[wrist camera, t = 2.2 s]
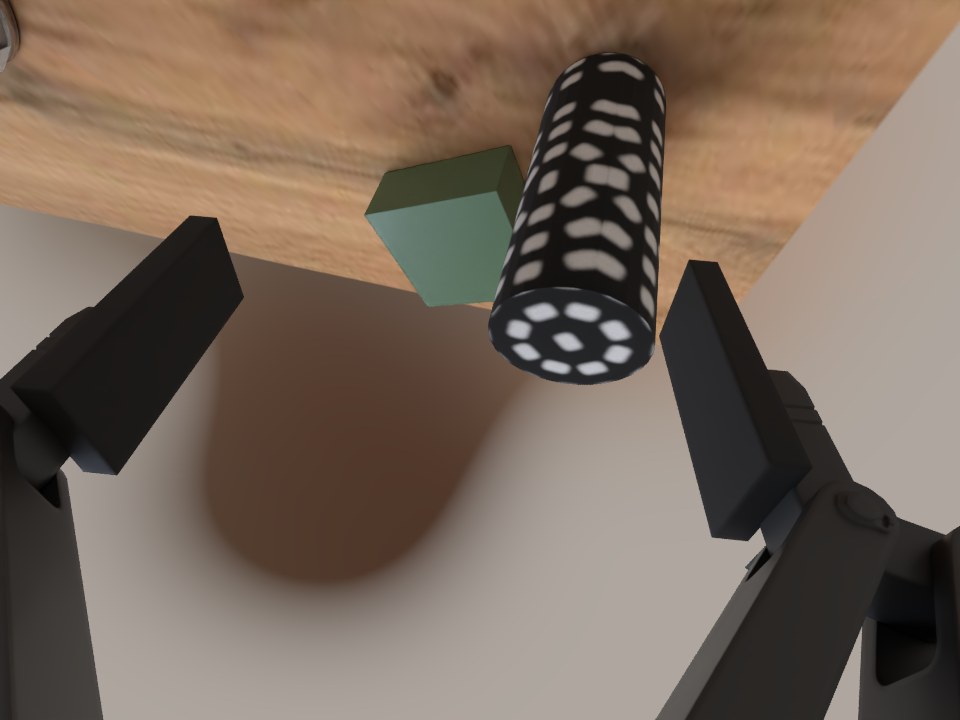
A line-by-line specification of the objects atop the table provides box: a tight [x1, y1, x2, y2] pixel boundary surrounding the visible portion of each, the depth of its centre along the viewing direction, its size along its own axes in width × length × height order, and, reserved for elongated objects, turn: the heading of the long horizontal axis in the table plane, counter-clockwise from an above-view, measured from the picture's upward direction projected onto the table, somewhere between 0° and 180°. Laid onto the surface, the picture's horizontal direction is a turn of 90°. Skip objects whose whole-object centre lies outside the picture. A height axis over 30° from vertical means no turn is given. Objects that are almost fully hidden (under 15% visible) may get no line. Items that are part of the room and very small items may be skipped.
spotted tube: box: [488, 53, 666, 385], centre depth 31 cm, size 8×8×20 cm
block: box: [365, 146, 525, 307], centre depth 45 cm, size 12×12×6 cm
